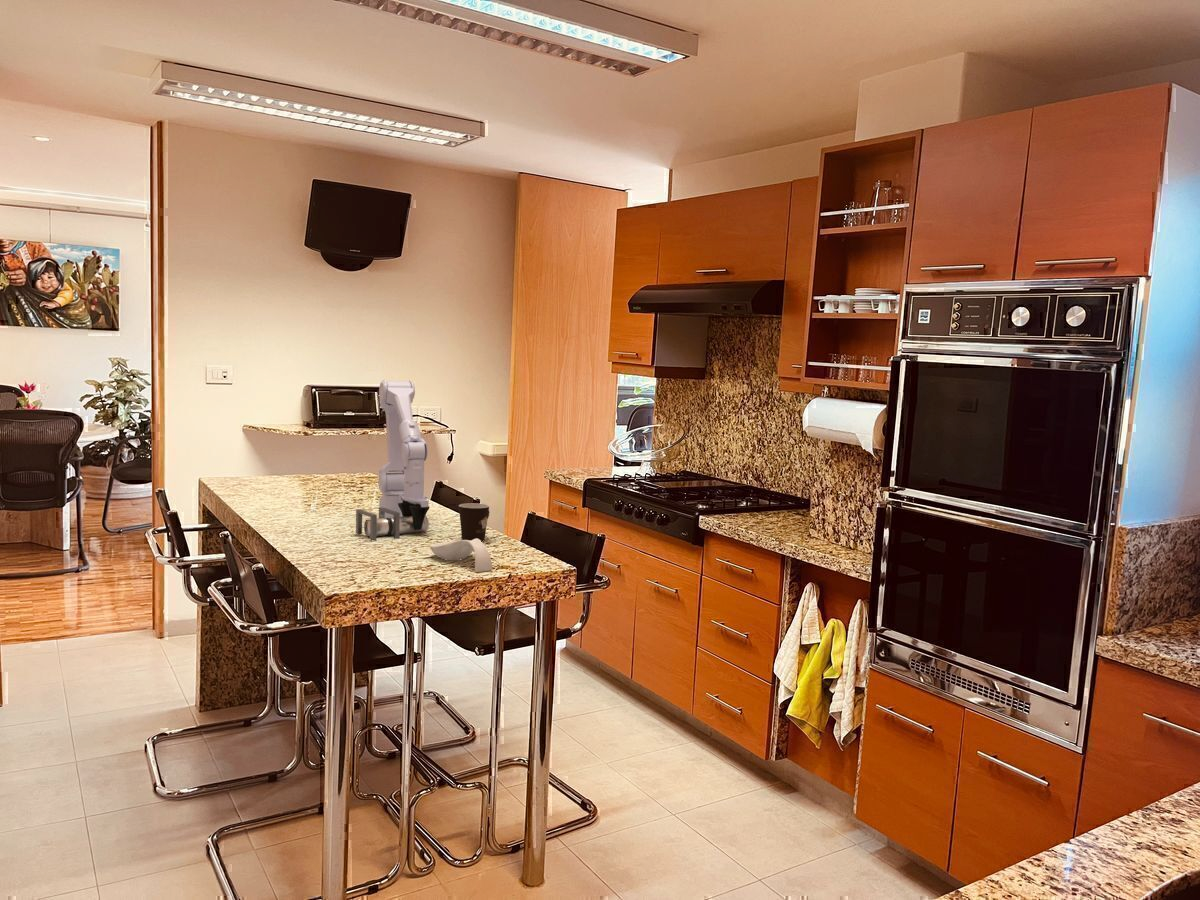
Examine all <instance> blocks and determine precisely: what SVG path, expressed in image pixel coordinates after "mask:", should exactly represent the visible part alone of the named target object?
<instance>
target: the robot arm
mask: <svg viewBox="0 0 1200 900" xmlns="http://www.w3.org/2000/svg"><path fill="white" fill-rule="evenodd" d="M415 388H416V387H415V384H414V383H413V381H411V380H408V381H407V380H406V381H405V380H404V381H403V380H385V379H384V380H382V381H381V382H380V384H379V389H378V396H379V397H378V398H379V399H378V400H379V407H380V408H381V409H383V410H384V411H385V421H386V423H385V425H386V444H387V445H386V446H387V463H384V464H383V465H382V467H380V469H379V471H378V473H379V474H378V481H377V483H378V490H379V492H380V493H381V494H382V495H380V497H379V499H378V500H379V501H378V502H379V503H378V504H379V505H378V508H379V507H383V508H386V509H389V510H393V511H396V512H399V513H400V517H404V516H412V518H413V527H414V530H420V529H421V528H422V525H423V521H424V518H425V515H426V516H427V513H428V511H429V510H430V505H429V504H430V503H429V500H428V496H427V495H424V493H425V492H424V489H425V487H424V485H425V461H426V460H427V458H428V446H427V442H426V441H425V440H424V438H422V435H421V431H420V427H419V424H418V422H417V421H416V420H414V418H413V411H412V410H413V409H412V404H413V401H414V399H415V394H416V389H415ZM385 518H393V515H391V514H388V513H386V512H385ZM377 519H379V517H377Z"/></svg>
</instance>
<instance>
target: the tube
mask: <svg viewBox="0 0 1200 900" xmlns="http://www.w3.org/2000/svg"><path fill="white" fill-rule="evenodd" d="M429 525H430V523H429V519H428V516H427V514H426V515H425V518H424V521H423V525H422V528H421V529H420V530H414V527H413V518H412V516H404V517H400V525H399V535H404V534H405V535H406V534H414V533H425V532H427V531H428V530H429V527H430V526H429ZM363 528H364V529H363V530H364V534H365V536H366V537H367V536H369V537H368V538H370V519H365V521H364V525H363ZM385 535H387V536H393V518H381V519H377V534H376V537H384V536H385Z"/></svg>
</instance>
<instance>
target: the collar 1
mask: <svg viewBox="0 0 1200 900" xmlns="http://www.w3.org/2000/svg"><path fill="white" fill-rule="evenodd" d="M363 516H367V517H369V518H370V537H369V540H370V539H371V540H376V541H377V536H376V534H377V518H378V514H377V513H372V512H370V511H367V510H364V509H362V508H356V509H355V534H356V533H357V534H362V535H363ZM357 534H356V535H357ZM371 540H370V541H371Z"/></svg>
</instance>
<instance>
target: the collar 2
mask: <svg viewBox="0 0 1200 900" xmlns="http://www.w3.org/2000/svg"><path fill="white" fill-rule="evenodd" d="M385 512H386V513H388V514H391V515H393V535H392V538H393V537H394V538H393V539H395V538H396V539H400V534H399V525H400V513H399V512H396V511H393V510H389V509H386V508H383V507H379V506H378V518H379V519H381V518H385Z"/></svg>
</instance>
